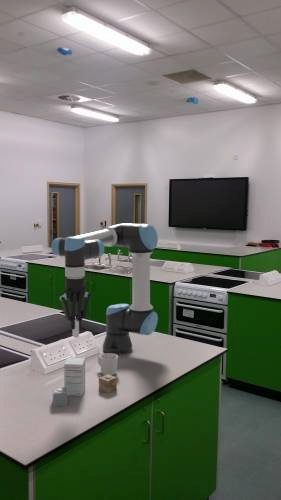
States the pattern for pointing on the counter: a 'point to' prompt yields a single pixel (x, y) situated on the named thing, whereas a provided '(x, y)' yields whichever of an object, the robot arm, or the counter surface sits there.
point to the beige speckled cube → (107, 383)
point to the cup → (108, 363)
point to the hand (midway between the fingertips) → (75, 336)
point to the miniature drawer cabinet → (74, 376)
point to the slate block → (59, 396)
